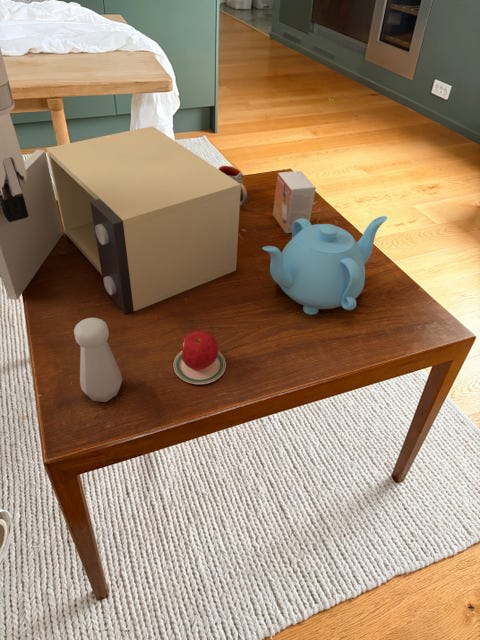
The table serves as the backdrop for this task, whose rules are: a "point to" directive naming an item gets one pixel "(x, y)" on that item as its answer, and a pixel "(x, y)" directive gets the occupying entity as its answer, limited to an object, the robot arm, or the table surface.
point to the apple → (199, 359)
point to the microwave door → (29, 228)
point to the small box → (292, 199)
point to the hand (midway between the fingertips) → (17, 217)
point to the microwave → (146, 214)
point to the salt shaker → (97, 361)
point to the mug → (237, 176)
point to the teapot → (323, 265)
